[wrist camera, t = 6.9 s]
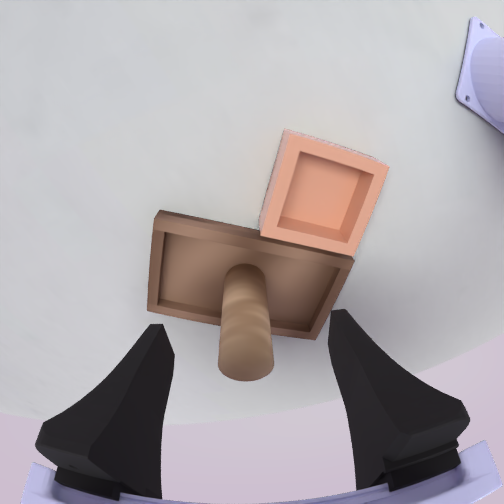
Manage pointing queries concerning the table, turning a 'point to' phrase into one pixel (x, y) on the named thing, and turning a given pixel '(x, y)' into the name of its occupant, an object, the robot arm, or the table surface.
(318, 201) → the open box
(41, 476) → the robot arm
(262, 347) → the dowel
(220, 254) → the tray
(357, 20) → the table surface
